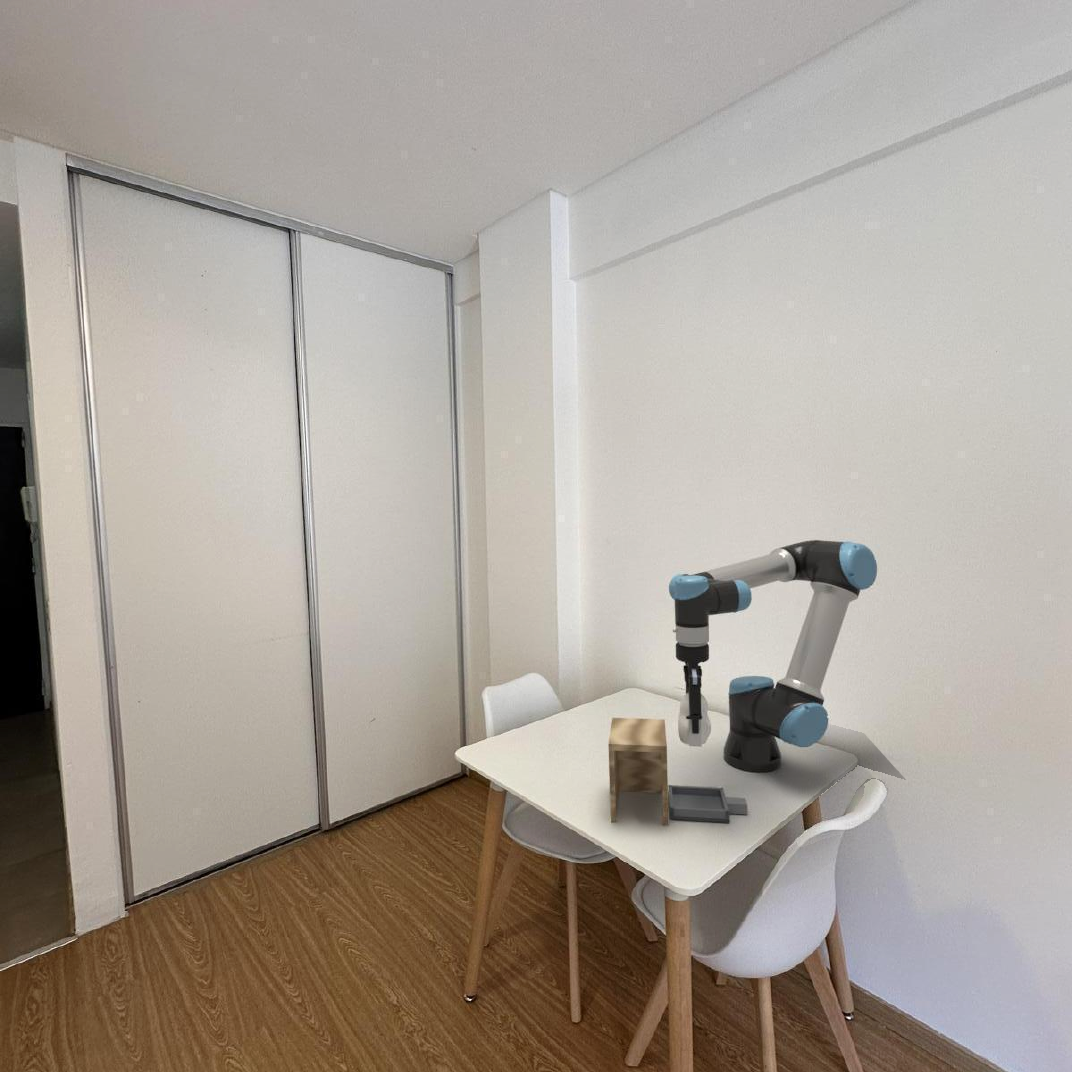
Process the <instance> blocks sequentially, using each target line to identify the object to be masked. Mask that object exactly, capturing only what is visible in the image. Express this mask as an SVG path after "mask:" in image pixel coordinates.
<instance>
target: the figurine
mask: <svg viewBox="0 0 1072 1072" xmlns="http://www.w3.org/2000/svg"><path fill="white" fill-rule="evenodd" d="M708 705H709V703H708V701H707V698H706V697H705V696H704V695H703V694H702V693H701V715H702V720H701V743H702V745H704V744H706V743H707V740H708V738H709V737H710V735H711V732H712V723H711V720H710V718H709V715H708V710H709V709H708V708H709V706H708ZM686 716H689V694H688V693H687V694H686V693H685V694H684V695H683V697H682V698H681V700H680V705H679V713H678V720H677V721H678V722H677V723H678V724H677V726H678V727H677V730H678V737H679V741H680V742H681V743H682V744H685V745H687V746H689V719H686Z"/></svg>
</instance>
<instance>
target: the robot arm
mask: <svg viewBox="0 0 1072 1072" xmlns="http://www.w3.org/2000/svg"><path fill="white" fill-rule="evenodd" d="M877 573H878V564H877V559H876V557H875V555H874V553H873V551H872V550H871V549H870V548H869V547H867V545H865V544H863V543H858V542H852V541H833V540H821V539H815V540H814V539H812V540H805V541H801V542H796V543H793V544H789V545H785V546H783V547H778V548H774V549H773V550H771V551H770V553H769V554H765V555H762V556H758V557H754V558H750V559H748V560H743V561H740V562H736V563H733V564H729V565H724V566H721V567H717V568H714V569H709V570H706V571H702V572H697V573H694V574H687V573H681V574H680V573H679V574H676V575H675V576H673V577H672V578H671V580H670V581H669V583H668V592H669V595H670V597H671V598H672V599H673V601H674V623H675V627H674V628H672V633H675V641H676V644H675V658H676V659H677V660H678V661H680V662H682V663H684V664H685V665H683V673H684V674H683V675H684V677H683V679H684V682H685V694H687V693H688V694H689V716H686V719H689V745H688V747H698V748H699V747H702V746H703V744H702V743H701V720H702V715H701V694H702V692H701V691H702V690H701V688H702V686H703V685H702V676H703V669H702V667H701V665H700V664H701V663H705V662H708V661H709V659H710V645H709V644H708V643H709V642H710V624H709V623H710V619H709V618H710V617H709V616H713V615H724V614H730V613H734V614H735V613H738V612H741V611H745V610H747V609H748V608H749V607H750V605H751V603H752V590H751V589H754V588H757V587H760V586H764V585H767V584H771V583H774V582H778V581H779V582H782V583H788V582H792V581H802V582H803V581H804V582H810V587H811V589H812V590H813V594H812V597H811V601H810V604H809V607H808V610H807V612H806V615H805V618H804V621H803V624H802V627H801V630H800V633H799V636H798V639H797V642H796V644H795V647H794V650H793V654H792V657H791V659H790V661H789V664H788V665H789V666H788V668H787V671H786V675H785V677H784V678H781V679H779V680H777V681H776V685H775V683H774V679H773V678H771V677H767V676H763V675H762V676H760V675H748V676H746V675H745V676H740V677H739V676H738V677H735V678H733V679H731V681H730V682H729V686H728V688H729V689H728V692H727V693H728V714H729V716H728V717H729V731H728V735H727V738H726V741H725V743H724V746H723V759H724V760H723V761H725V763H727V764H728V765H730V766H732V767H734V768H737V769H739V770H742V771H745V772H746V771H747V772H757V773H767V772H771V771H775V770H777V769H779V768H780V767H781V766H782V753H781V750H780V747H779V745H778V744H779V743H778V741H777V739H779V740H782V741H783V742H784V743H787V744H789V745H793V746H795V747H799V748H808V747H811V746H813V745H814V744H816V743H818V742H819V741H820V740H821V739H822V738H823V737H824V735H825V733H826V731H827V729H828V725H829V717H828V716H829V715H828V710H826V708H825V707H824V706H823V705H824V702H825V698H824V696H823V694H822V691H821V689H822V687H823V685H824V684H823V683H824V680H825V677H826V674H827V672H828V668H829V665H830V662H831V659H832V656H833V653H834V650H835V647H836V644H837V641H838V637H839V634H840V632H841V629H842V626H843V623H844V620H845V617H846V613H847V611H848V608H849V604H850V603H851V602H854V601H856V600H858V599H859V595H860V593H861V590H862V591H865V590H867V589H869V588H870V587H871V586H873V585H874V583H875V581H876V579H877V575H878V574H877Z"/></svg>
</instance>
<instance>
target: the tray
mask: <svg viewBox="0 0 1072 1072" xmlns="http://www.w3.org/2000/svg"><path fill="white" fill-rule="evenodd" d="M668 808H669V819H670V820H675V821H676V820H678V821H679V820H680V821H696V822H707V823H725V824H727V823H730V814H731V815H748V803H747V800H746V798H745V797H733V796H730V797H729V796H726V794H725V791H724V787H715V786H714V787H713V786H698V785H697V786H695V785H694V786H693V785H678V784H677V785H676V784H675V785H674V784H668Z"/></svg>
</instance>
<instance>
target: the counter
mask: <svg viewBox="0 0 1072 1072" xmlns="http://www.w3.org/2000/svg"><path fill="white" fill-rule="evenodd" d="M666 732H667V731H666V719H665V718H663V719H662V718H639V717H638V718H637V717H635V718H633V717H611V725H610V732H609V737H608V772H609V775H608V776H609V807H610V823H617V818H618V817H617V814H618V805H619V795H620V793H619V792H620V791H621V792H622V791H623V792H634V793H635V792H637V793H638V792H639V793H653V794H654V793H655V794H656V793H657V794H661V795H662V826H663V827H664V826H665V827H666V826H667V827H668V826H669V824H670V823H669V819H670V818H669V790H668V785H669V784H668V746H667V743H668V742H667V733H666Z"/></svg>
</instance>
